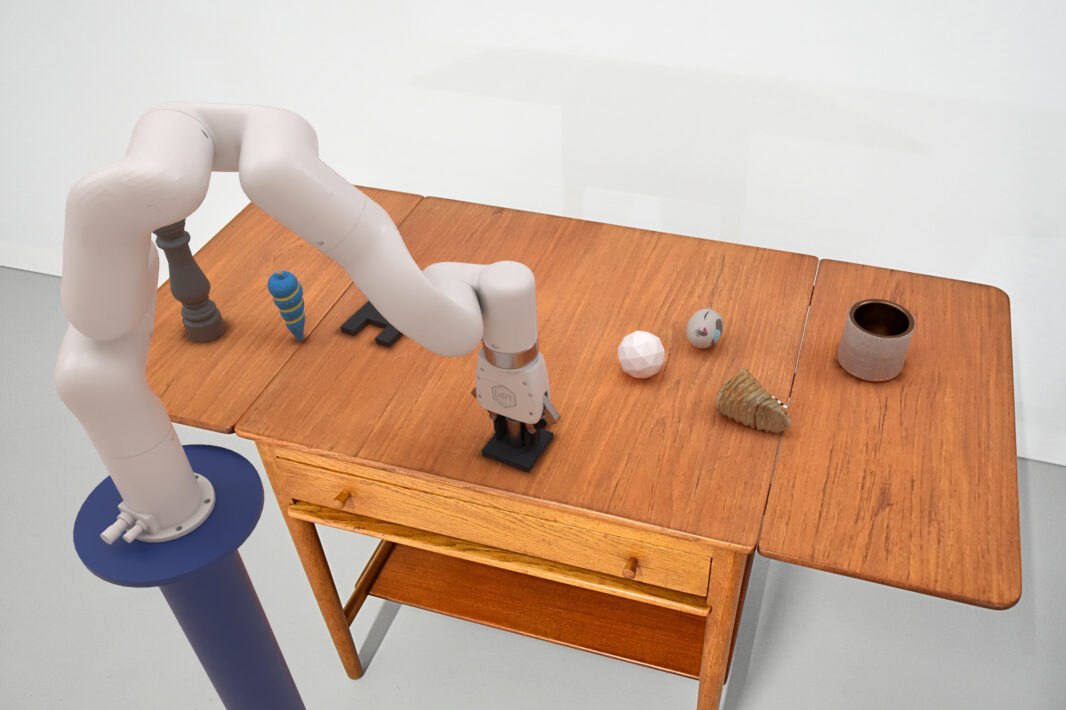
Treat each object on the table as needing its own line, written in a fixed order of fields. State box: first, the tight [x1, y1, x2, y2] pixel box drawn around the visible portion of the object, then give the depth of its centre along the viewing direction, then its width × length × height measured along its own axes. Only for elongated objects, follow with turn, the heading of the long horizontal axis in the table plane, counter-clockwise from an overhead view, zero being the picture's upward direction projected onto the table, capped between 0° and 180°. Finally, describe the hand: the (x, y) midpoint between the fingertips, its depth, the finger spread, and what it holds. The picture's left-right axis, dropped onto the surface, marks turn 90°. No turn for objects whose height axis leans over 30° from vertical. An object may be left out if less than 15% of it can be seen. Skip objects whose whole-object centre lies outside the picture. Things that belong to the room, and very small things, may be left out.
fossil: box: [715, 367, 792, 433], centre depth 141 cm, size 12×6×9 cm
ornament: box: [267, 269, 306, 342], centre depth 149 cm, size 5×5×15 cm
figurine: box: [685, 306, 724, 349], centre depth 152 cm, size 8×6×7 cm
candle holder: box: [151, 218, 226, 344], centre depth 147 cm, size 6×6×25 cm
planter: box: [837, 298, 917, 382], centre depth 149 cm, size 11×11×10 cm
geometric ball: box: [617, 330, 666, 379], centre depth 147 cm, size 8×8×8 cm
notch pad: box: [339, 300, 404, 349], centre depth 157 cm, size 10×10×1 cm
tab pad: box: [481, 411, 554, 473], centre depth 135 cm, size 12×8×7 cm
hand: (517, 438), depth 135 cm, fingers open, 4 cm apart
